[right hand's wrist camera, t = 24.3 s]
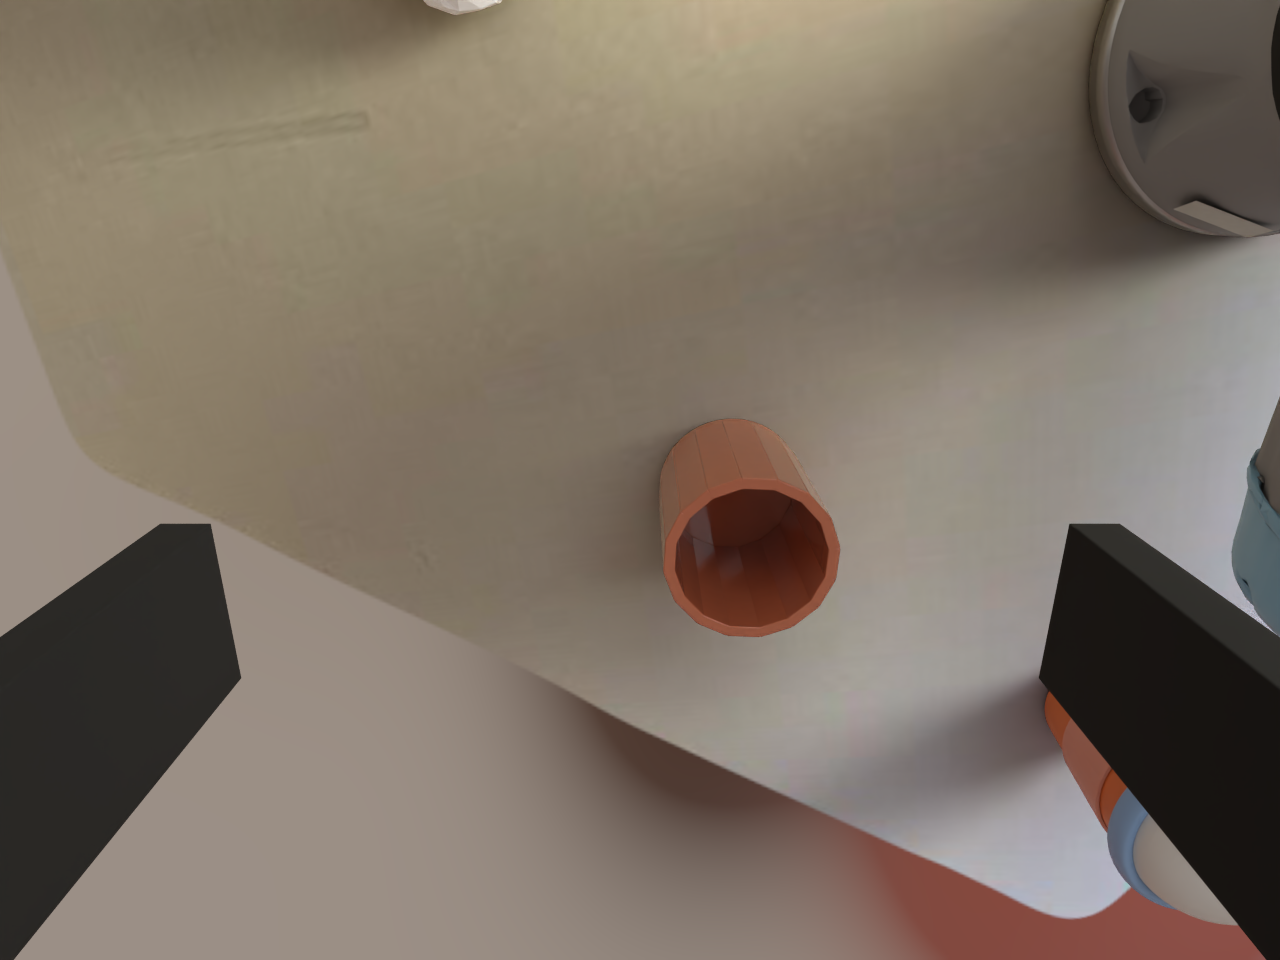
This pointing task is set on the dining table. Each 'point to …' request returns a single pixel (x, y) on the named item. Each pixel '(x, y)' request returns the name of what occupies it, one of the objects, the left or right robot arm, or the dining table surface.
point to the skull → (461, 5)
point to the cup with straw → (1132, 828)
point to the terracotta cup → (743, 530)
